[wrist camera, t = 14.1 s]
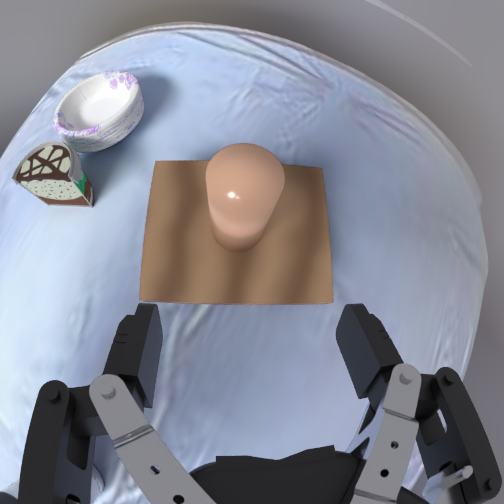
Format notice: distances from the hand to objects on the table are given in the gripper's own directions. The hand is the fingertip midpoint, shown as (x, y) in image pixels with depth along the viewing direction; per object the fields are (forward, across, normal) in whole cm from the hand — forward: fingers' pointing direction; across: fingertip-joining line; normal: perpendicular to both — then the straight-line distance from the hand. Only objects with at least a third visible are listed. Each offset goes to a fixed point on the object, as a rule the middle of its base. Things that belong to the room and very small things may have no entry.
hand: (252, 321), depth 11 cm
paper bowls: (+39, +22, -5) cm, 45 cm away
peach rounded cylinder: (+18, 0, +4) cm, 19 cm away
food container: (+31, +25, +4) cm, 40 cm away
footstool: (+24, 0, +10) cm, 26 cm away
